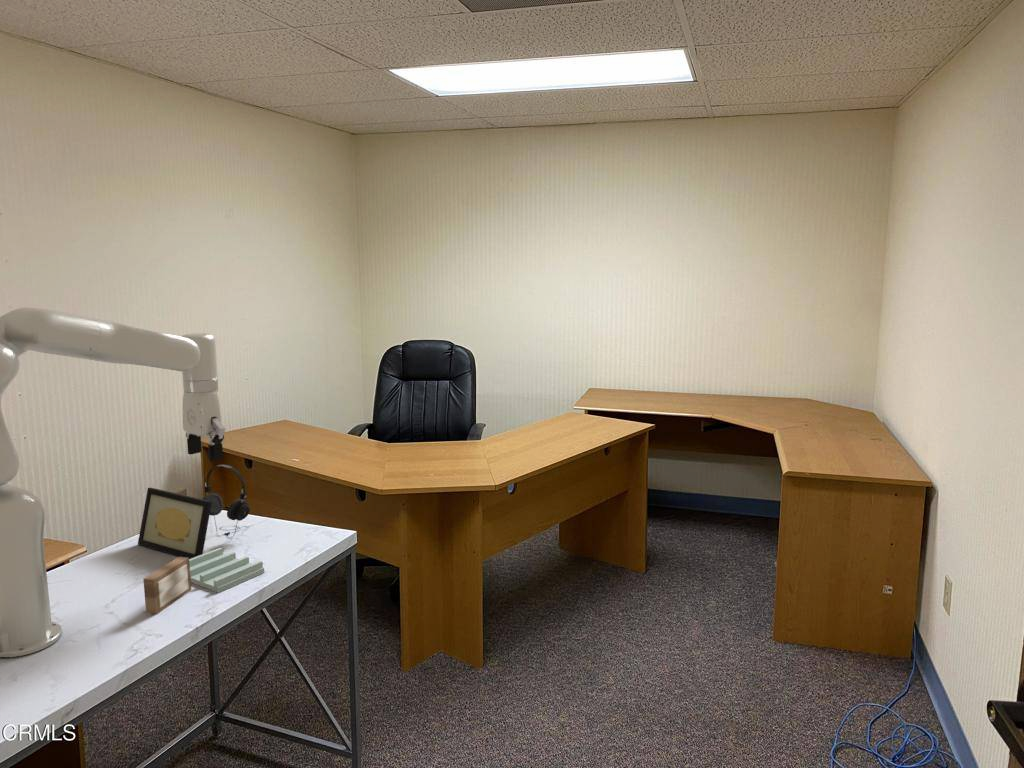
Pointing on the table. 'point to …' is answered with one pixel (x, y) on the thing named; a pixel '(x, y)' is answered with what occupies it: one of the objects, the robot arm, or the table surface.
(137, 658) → the table surface
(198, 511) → the picture frame
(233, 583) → the display rail
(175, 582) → the long brown rectangular block
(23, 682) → the table surface
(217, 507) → the headphones
